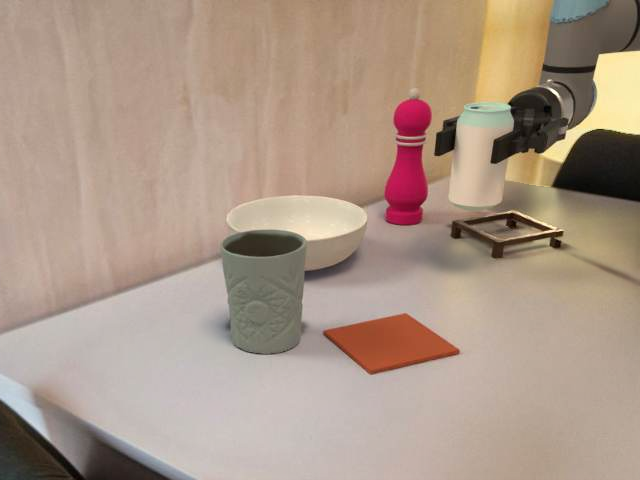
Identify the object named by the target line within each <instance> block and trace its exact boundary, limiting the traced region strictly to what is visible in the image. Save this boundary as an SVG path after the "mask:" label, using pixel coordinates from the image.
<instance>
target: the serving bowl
mask: <svg viewBox="0 0 640 480" xmlns="http://www.w3.org/2000/svg"><path fill="white" fill-rule="evenodd" d="M368 220H369V217H368V214H367V212H366V211H365V210H364V209H363V208H362V207H360V206H358V205H356V204H355V203H352V202H349V201H347V200H343V199H339V198H334V197H328V196H319V195H281V196H272V197H271V196H270V197H264V198H259V199H255V200H250V201H247V202H245V203H241V204H239V205H238V206H236V207H234V208H232V209H231V210H230V211H229V212H228V213H227V216H226V221H225V222H226V227H227V232H228V235H229V236H231V235H233V234H236V233H240V232H245V231H252V230H267V229H271V230H284V231H290V232H294V233H297V234H300V235H301V236H303V237H304V238H305V239H306V240H307V249H306V261H305V271H304V272H306V271H307V272H308V271H316V270H321V269H325V268H328V267H331V266H334V265H337V264H339V263H341V262H343V261H344V260H346V259H347V258H349V257H350V256H352V255H353V254H354V252H355V251H356V250H357V249H358V247H359V246H360V245H361V243H362V241H363V239H364V236H365V235H366V231H367V226H368ZM229 236H228V237H229Z"/></svg>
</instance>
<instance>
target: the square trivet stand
mask: <svg viewBox="0 0 640 480" xmlns="http://www.w3.org/2000/svg"><path fill="white" fill-rule="evenodd" d="M505 219H506V220H505ZM514 219H515V220H514ZM500 220H505V221H506V222H505V227H506V226H508V227H510V228H509V229H512V228H511V227H514V228H517V223H518V221H519V222H522V223H525V224H526V225H529V226H531V227H533V228H535V229H539V230H540V231H539V232H533V233H529V234H527V233H526V234H522V235H517V236H511V237H506V238H498V237H496V236H494V235H491V234H490V233H487V232H485V231H483V230H481V229H479V228H478V227H474V226H473V225H476V224H477V225H479V224H484V223H488V222H494V221H500ZM516 220H517V221H516ZM508 227H507V228H508ZM450 229H451V230H450V237H451V238H453V239H458V237H459V238H462V231H463V232H465V233H466V234H469V235H471V236H473V237H476V238H478V239H479V240H482V241H483V242H486V243H488V244H490V245H492V251H491V256H492V257H491V258H493V257H494V258H493V259H495V258H499V259H502V258H503V257H504V250H505V247H507V246H508V247H509V246H514V245H518V244H524V243H528V242H529V243H530V242H535V241H539V240H544V239H545V240H546V239H549V243H548V246H549V247H551V248H552V249H555V248H560V247H561V245H562V240H561V239H557V238H561V237H564V236H563V235H564V230H563V229H562V228H558V227H555V226H553V225H550V224H548V223H546V222H543V221H541V220H538V219H536V218H533V217H532V216H529V215H526V214H525V213H521V212H519V211H518V210H515V209H511V210H507V211H501V212H496V213H490V214H484V215H478V216H473V217H467V218H466V217H465V218H461V219H460V218H459V219H454V220H452V221H451V228H450Z"/></svg>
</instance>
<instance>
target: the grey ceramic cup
mask: <svg viewBox="0 0 640 480" xmlns="http://www.w3.org/2000/svg"><path fill="white" fill-rule="evenodd" d="M219 249H220V258H221V262H222V269H223V277H224V281H225V282H224V283H225V288H226V293H227V304H228V310H229V311H228V312H229V316H230V331H231V340H232V343H233V342H234V343H233V345H234V344H235V345H236V346H235V345H234V346H235V347H236V348H237V347H239V348H241V349H243V350H242V351H244V350H245V351H244V352H246V351H250V352H254V353H253V354H255V353H261V354H260V355H272V354H271V353H275V354H280V353H279V352H281V353H284V352H283V351H285V352H287V350H288V351H290V350H292V349H294V348H295V347H297V345H298V344H300V341H301V338H302V319H303V298H304V291H305V290H304V289H305V272H306V271H305V261H306V249H307V240H306V239H305V238H304V237H303V236H301V235H300V234H297V233H294V232H290V231H284V230H271V229H267V230H252V231H245V232H240V233H236V234H233V235H231V236H227V237H225V238H223V240H222V241H221V242H220V244H219ZM293 347H294V348H293ZM239 348H238V349H239ZM291 348H292V349H291ZM241 349H240V350H241ZM250 352H249V353H250Z"/></svg>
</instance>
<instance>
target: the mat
mask: <svg viewBox="0 0 640 480" xmlns="http://www.w3.org/2000/svg"><path fill="white" fill-rule="evenodd" d="M322 334H323V335H324V336H325V337H326V338H327V339H328V340H330V341H331V342H332V343H333V344H334V345H335V346H337V347H338V348H339V349H340V350H342V352H344V353H345V354H346V355H347V356H349V358H351V359H352V360H353V361H354V362H356V364H358V365H359V366H360V367H361V368H362V369H364V370H365V371H366V372H367V373H368V374H370V375H372V374H377V373H381V372H386V371H389V370H395V369H399V368H403V367H407V366H412V365H417V364H420V363H424V362H429V361H433V360H436V359H443V358H446V357H450V356H455V355H458V354H460V350H461V349H460V348H458V347H456V346H455V345H453V344H452V343H450V342H449V341H447V339H445V338H444V337H442V336H441V335H438V334H437V333H436V332H435V331H433V330H432V329H430V328H429V327H427V326H426V325H425V324H423V323H421V322H420V321H418V320H417V319H416V318H414V317H413V316H411V315H410V314H408V313H407V312H404V313H399V314H396V315H391V316H385V317H380V318H376V319H371V320H367V321H363V322H362V321H361V322H358V323H352V324H348V325H343V326H337V327H333V328H329V329H323V333H322Z"/></svg>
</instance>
